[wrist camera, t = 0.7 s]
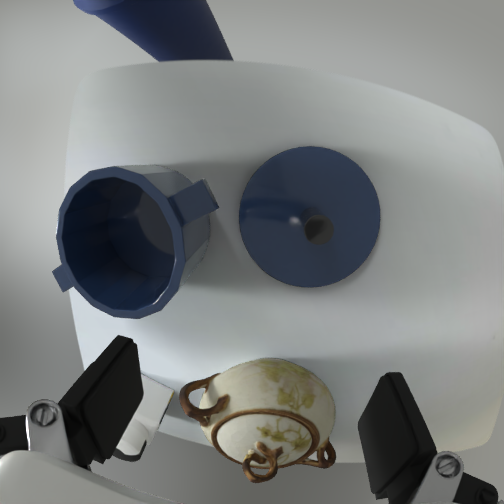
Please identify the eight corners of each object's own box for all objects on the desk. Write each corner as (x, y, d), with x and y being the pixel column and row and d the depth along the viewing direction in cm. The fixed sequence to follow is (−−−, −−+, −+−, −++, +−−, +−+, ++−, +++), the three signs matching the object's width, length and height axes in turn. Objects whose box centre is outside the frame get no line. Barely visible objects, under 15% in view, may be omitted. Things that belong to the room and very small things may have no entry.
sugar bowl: (175, 378, 35) (136, 465, 20) (231, 299, 30) (197, 400, 16) (294, 433, 36) (294, 517, 22) (364, 373, 32) (394, 467, 18)
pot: (74, 212, 29) (26, 227, 21) (200, 130, 26) (168, 116, 17) (122, 303, 32) (85, 339, 24) (255, 244, 28) (247, 276, 20)
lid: (217, 183, 27) (202, 187, 21) (345, 126, 24) (362, 117, 19) (275, 301, 30) (274, 330, 25) (392, 252, 27) (415, 270, 22)
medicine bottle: (163, 414, 37) (138, 472, 26) (122, 393, 37) (90, 447, 26) (175, 389, 35) (147, 454, 24) (130, 366, 35) (91, 425, 23)
